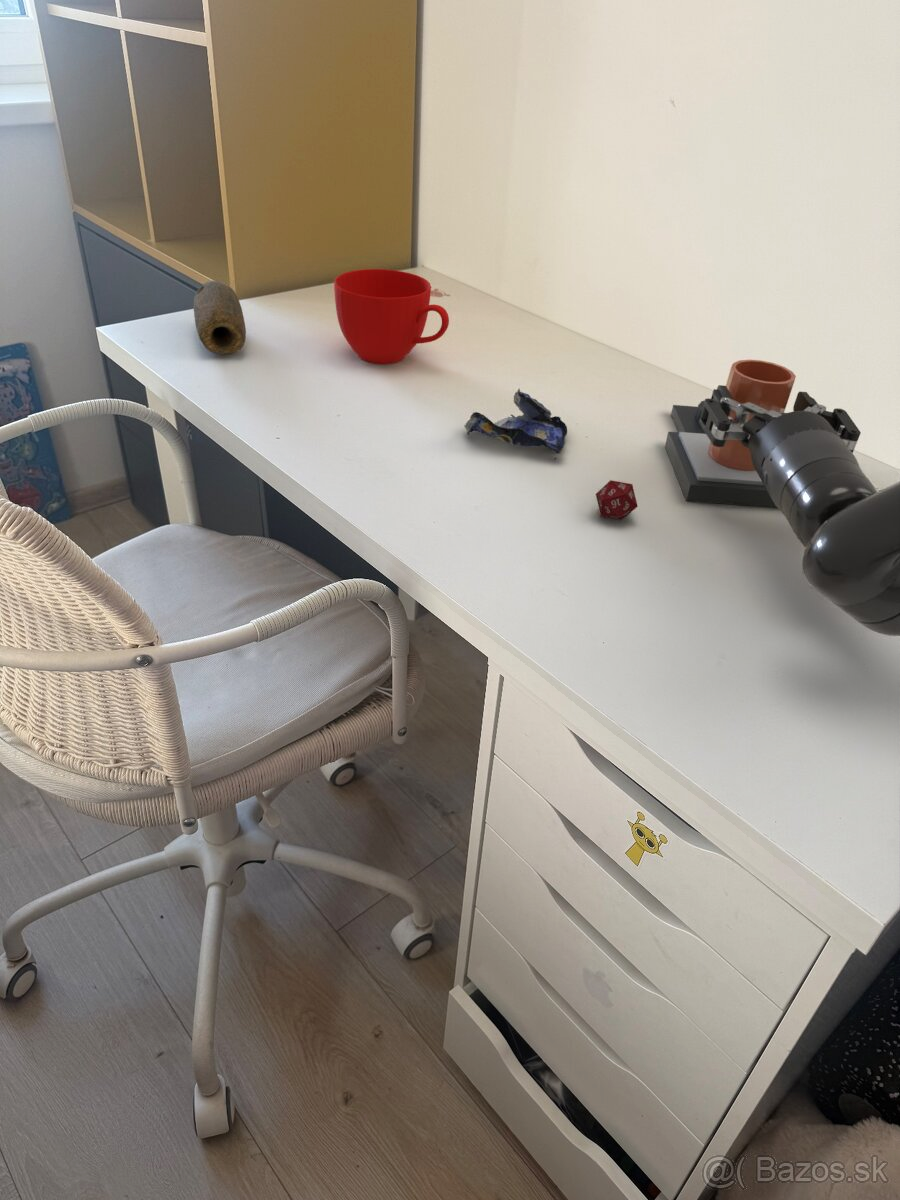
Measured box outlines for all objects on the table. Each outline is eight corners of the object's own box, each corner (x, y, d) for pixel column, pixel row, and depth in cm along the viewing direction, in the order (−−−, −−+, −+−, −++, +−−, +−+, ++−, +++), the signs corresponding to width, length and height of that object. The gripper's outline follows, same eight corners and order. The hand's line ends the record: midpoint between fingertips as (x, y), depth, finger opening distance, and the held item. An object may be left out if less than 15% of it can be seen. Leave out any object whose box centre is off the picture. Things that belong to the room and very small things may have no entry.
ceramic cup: (418, 389, 108) (421, 312, 102) (316, 356, 115) (313, 282, 109) (468, 361, 117) (474, 289, 111) (371, 332, 124) (371, 263, 118)
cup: (758, 446, 95) (785, 362, 89) (774, 473, 90) (803, 385, 84) (702, 442, 95) (725, 357, 89) (715, 468, 90) (740, 380, 84)
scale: (771, 454, 100) (778, 435, 98) (805, 509, 89) (813, 489, 88) (664, 446, 99) (669, 427, 98) (686, 501, 89) (691, 480, 88)
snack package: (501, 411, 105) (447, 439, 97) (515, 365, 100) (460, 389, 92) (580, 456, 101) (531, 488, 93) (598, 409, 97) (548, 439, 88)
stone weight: (189, 324, 122) (184, 277, 118) (238, 321, 124) (234, 275, 120) (202, 362, 111) (196, 311, 107) (255, 358, 113) (251, 309, 109)
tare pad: (747, 420, 107) (753, 398, 105) (764, 448, 101) (771, 425, 99) (670, 414, 107) (676, 392, 105) (682, 442, 101) (688, 419, 99)
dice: (628, 531, 83) (636, 496, 81) (586, 518, 85) (592, 484, 82) (638, 515, 86) (646, 481, 84) (598, 503, 87) (604, 469, 85)
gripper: (900, 437, 73) (837, 367, 86) (739, 424, 72) (700, 357, 85) (869, 510, 77) (813, 434, 90) (717, 499, 77) (683, 424, 90)
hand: (758, 396), depth 88 cm, fingers open, 8 cm apart
